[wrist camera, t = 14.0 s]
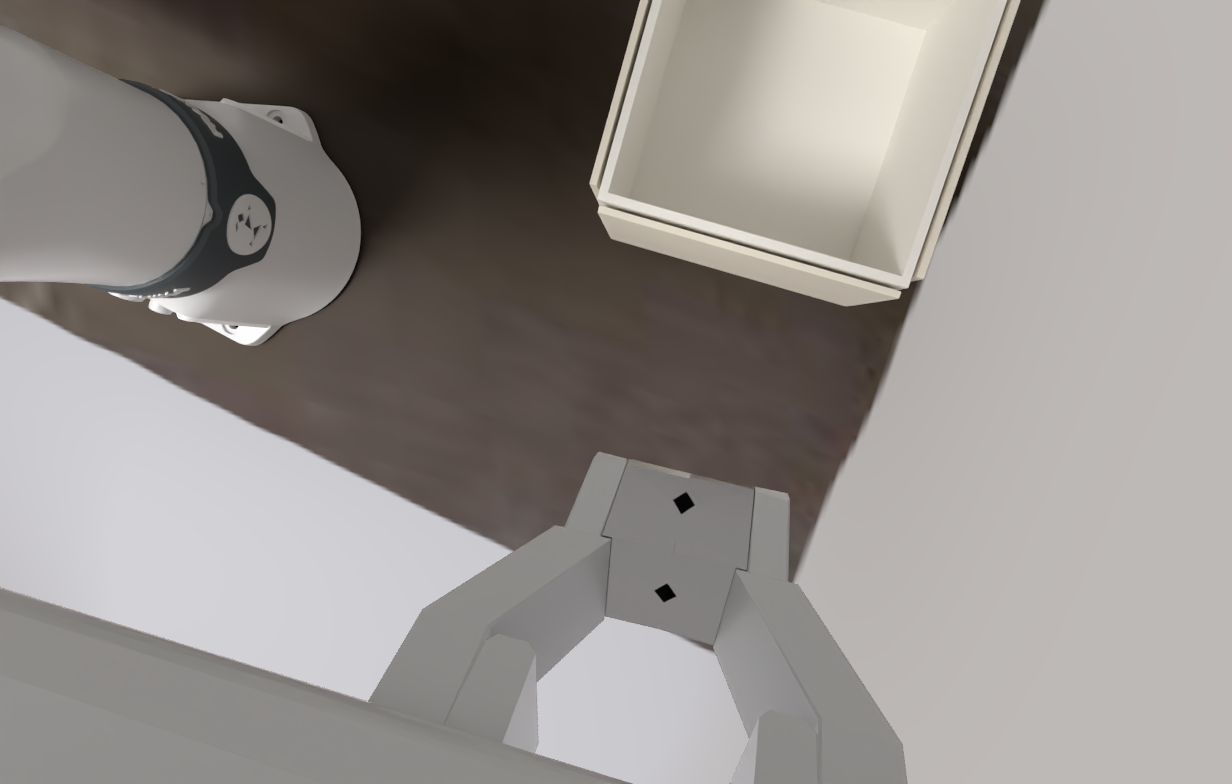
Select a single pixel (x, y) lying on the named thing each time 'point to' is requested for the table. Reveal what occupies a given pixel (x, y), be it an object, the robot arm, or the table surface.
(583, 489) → the robot arm
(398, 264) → the table surface
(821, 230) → the carton
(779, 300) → the table surface
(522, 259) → the table surface
